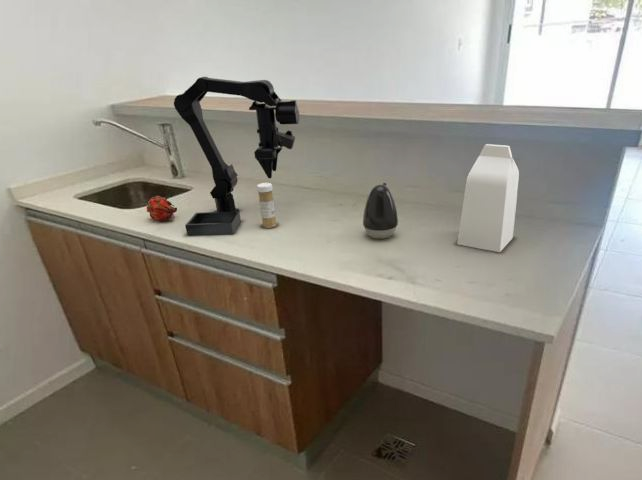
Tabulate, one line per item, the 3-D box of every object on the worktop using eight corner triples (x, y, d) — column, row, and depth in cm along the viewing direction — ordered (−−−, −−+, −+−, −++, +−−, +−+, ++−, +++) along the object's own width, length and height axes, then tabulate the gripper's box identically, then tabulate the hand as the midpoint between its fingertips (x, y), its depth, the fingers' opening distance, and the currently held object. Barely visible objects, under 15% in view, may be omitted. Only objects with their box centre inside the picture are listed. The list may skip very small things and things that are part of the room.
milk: (457, 244, 131) (465, 148, 117) (472, 230, 139) (481, 139, 125) (499, 252, 125) (514, 152, 111) (512, 237, 133) (527, 142, 119)
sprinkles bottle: (269, 222, 153) (264, 181, 146) (279, 225, 150) (274, 183, 144) (259, 226, 150) (253, 185, 143) (269, 229, 147) (264, 187, 141)
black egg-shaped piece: (401, 230, 141) (402, 180, 134) (393, 243, 133) (393, 191, 125) (368, 228, 145) (368, 178, 137) (359, 240, 136) (357, 189, 128)
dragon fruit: (156, 219, 166) (176, 230, 160) (135, 211, 159) (155, 223, 153) (165, 197, 165) (185, 207, 159) (145, 188, 158) (166, 199, 152)
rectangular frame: (198, 222, 156) (195, 212, 154) (240, 221, 155) (239, 211, 154) (187, 235, 146) (185, 225, 144) (233, 234, 146) (231, 223, 144)
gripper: (287, 129, 139) (292, 181, 147) (295, 119, 155) (299, 166, 163) (251, 130, 140) (257, 182, 148) (262, 120, 155) (268, 167, 164)
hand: (272, 174), depth 155 cm, fingers open, 9 cm apart
